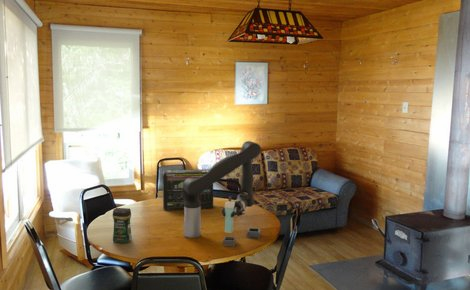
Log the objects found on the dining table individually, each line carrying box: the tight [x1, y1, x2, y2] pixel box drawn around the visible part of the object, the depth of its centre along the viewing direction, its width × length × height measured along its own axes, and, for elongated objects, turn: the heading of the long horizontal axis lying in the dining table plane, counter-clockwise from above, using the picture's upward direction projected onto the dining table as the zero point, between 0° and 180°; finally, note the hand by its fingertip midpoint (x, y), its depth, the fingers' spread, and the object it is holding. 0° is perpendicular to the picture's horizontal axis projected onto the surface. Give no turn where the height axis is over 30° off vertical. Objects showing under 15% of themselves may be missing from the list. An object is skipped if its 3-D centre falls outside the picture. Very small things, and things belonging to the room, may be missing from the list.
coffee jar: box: [112, 207, 133, 244], centre depth 229 cm, size 10×8×19 cm
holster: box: [222, 235, 237, 248], centre depth 227 cm, size 6×6×3 cm
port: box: [246, 227, 261, 239], centre depth 240 cm, size 7×7×4 cm
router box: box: [162, 168, 214, 211], centre depth 294 cm, size 36×11×27 cm, turn 99°
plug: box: [224, 195, 235, 234], centre depth 225 cm, size 4×4×20 cm
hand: (227, 215), depth 222 cm, fingers closed on plug, 3 cm apart
